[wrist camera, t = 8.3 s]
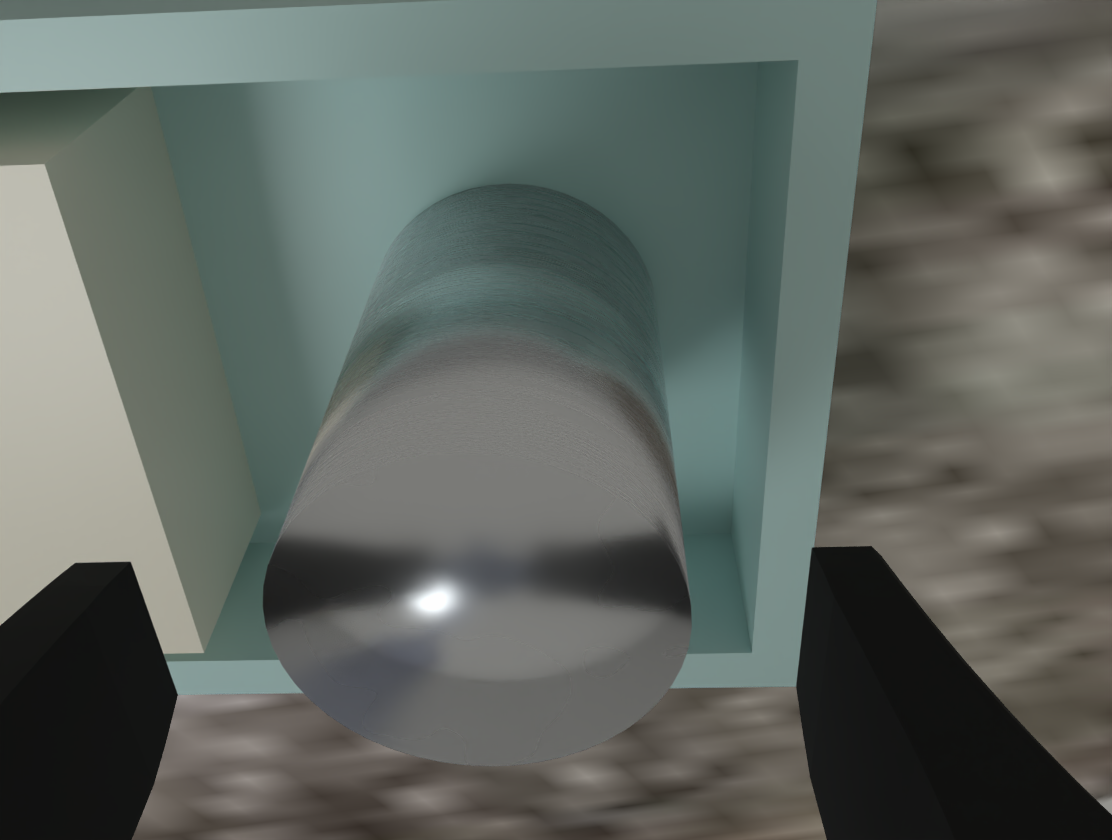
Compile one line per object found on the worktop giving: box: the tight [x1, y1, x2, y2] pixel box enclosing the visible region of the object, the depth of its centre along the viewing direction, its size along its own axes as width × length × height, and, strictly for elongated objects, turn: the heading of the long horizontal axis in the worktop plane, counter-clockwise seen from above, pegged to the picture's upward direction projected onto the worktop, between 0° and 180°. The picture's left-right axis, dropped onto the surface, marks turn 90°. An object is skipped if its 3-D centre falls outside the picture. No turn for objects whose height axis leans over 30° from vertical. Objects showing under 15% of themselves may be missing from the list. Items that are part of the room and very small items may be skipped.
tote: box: [0, 0, 877, 695], centre depth 16 cm, size 16×11×4 cm
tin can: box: [263, 184, 692, 766], centre depth 14 cm, size 5×5×7 cm
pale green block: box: [0, 87, 261, 654], centre depth 16 cm, size 5×8×4 cm, turn 3°
